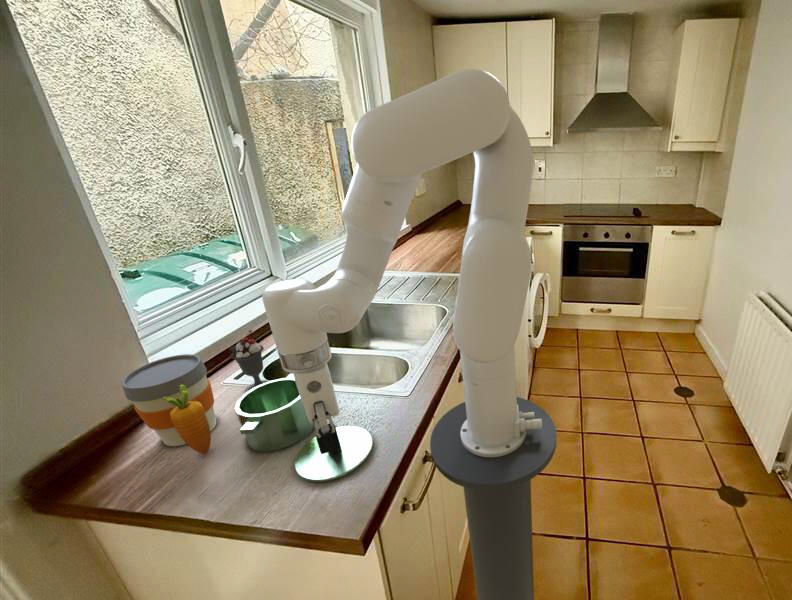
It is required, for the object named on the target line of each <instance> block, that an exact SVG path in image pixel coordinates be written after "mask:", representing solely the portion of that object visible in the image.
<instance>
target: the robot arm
mask: <svg viewBox="0 0 792 600" xmlns="http://www.w3.org/2000/svg"><path fill="white" fill-rule="evenodd" d="M519 116H520V115H518V113H517V112H516V111H515V109H514V108H513V107H512V105H511V102H510V97H509V95H508V93H507V91H506V88H505V87H504V85H503V83H502V82H501V81H500V80H499V79H498V78H497V77H496V76H495V75H493V74H492V73H490V72H488V71H485V70H483V69H479V68H466V69H462V70H458V71H454V72H453V73H451V74H449V75H446V76H444V77H441V78H439V79H437V80H434V81H433V82H430V83H428V84H425V85H424V86H421V87H419V88H417V89H415V90H413V91H410V92H408V93H406V94H403V95H401V96H399V97H397V98H395V99H393V100H390V101H388V102H385V103H383V104H381V105H378V106H376V107H373V108H372V109H370V110H368V111H366V112H365V113H364V114H363V115H361V116H360V118H359V119H358V120H357V121H356V123H355V124H354V127H353V129H352V134H351V142H350V146H351V153H352V156H353V158H354V160H355V162H356V165H355V168H354V172H353V174H352V178H351V181H350V184H349V187H348V189H347V193H346V196H345V199H344V201H343V204H342V208H341V219H342V221H343V224H344V225H345V227H346V239H345V244H344V246H343V251H342V254H341V257H340V260H339V262H338V265H337V268H336V270H335V272H334V274H333V275H332V277H330V278H329V280H328V281H326V283H324V284H322V285H320V286H319V287H316V286H315V285H314V283H312V282H311V281H309V280H307V279H302V278H301V279H300V278H299V279H298V278H297V279H295V278H294V279H286V280H281V281H278V282H275V283H272V284H270V285H268V286H267V287H266V288H265V289H264V290H263V292H262V294H261V295H262V296H261V297H262V298H261V299H262V302H263V307H264V310H265V313H266V316H267V320H268V323H269V327H270V330H271V333H272V337H273V341H274V344H275V347H276V350H277V354H278V358H279V361H280V364H281V368H282V369H283V371H284V372H287V373H289V374H293V375H294V379H295V382H296V385H297V389H298V392H299V395H300V398H301V401H302V404H303V407H304V409H305V412H306V415H307V417H308V420H309V422H310V423H314V424H315V427H314V429H315V432H316V434H315V437H316V438H317V442H318V446H319V449H320V453H321V454H325V453H328V452H331V451H333V450H336V449H339V448H340V442H339V438H338V434H337V430H336V428H337V427H336V428H335V429H334V425H333V424H334V421H333V418H332V417H337V416H339V415H340V408H339V404H338V400H337V397H336V396H337V395H336V392H335V388H334V384H333V379H332V375H331V372H330V368H329V366H328V363H329V362H330V361H331V359H332V357H333V355H332V351H331V347H330V343H329V338H328V334H344V333H347V332H349V331H352V330H353V329H354V328H356V326H357V325H358V324H359V323H360V322H361V320H362V318H363V316H364V315H365V313H366V311H367V310H368V309H369V307H370V305H371V304H372V302H373V300H374V299H375V297H376V294H377V292H378V289H379V287H380V284H381V282H382V280H383V277H384V274H385V271H386V269H387V267H388V264H389V261H390V258H391V255H392V252H393V249H394V247H395V245H396V244H397V242H398V239H399V235H400V233H401V230H402V227H403V225H404V222H405V219H406V216H407V213H408V211H409V209H410V206H411V203H412V200H413V198H414V195H415V193H416V190H417V188H418V186H419V184H420V180H421V178H422V176H423V174H424V173H427V172H430V171H432V170H434V169H437V168H439V167H442V166H444V165H447V164H449V163H451V162H453V161H456V160H458V159H461V158H463V157H465V156H468V155H470V154H473V158H474V176H473V184H472V197H471V204H470V212H469V217H468V222H467V223H468V224H467V228H466V231H465V235H464V239H463V243H462V252H461V262H460V268H459V269H460V270H459V278H458V286H457V293H456V297H455V301H454V308H453V309H454V310H453V321H452V336H453V340H454V343H455V345H456V347H457V349H458V350H459V354H460V365H461V375H462V376H461V377H462V385H463V394H464V395H463V396H464V402H465V404H466V414H467V420H466V421H465V422H464V424H463V425H462V428H461V433H460V435H461V441H462V444H463V445H464V447H465V448H466V449H467V450H468V451H469V452H471V453H473V454H475V455H478V456H482V457H500V456H504V455H507V454H509V453H511V452H513V451H514V450H516V449H517V448H518V447H519V446H521V444H522V443H523V441H524V439H525V437H526V430H528V429H533V430H540V429H542V420H541V419H535V417H534V412H528V413H522V412H519V407H518V404H517V397H518V396H517V378H516V376H517V375H516V350H515V349H516V348H515V344H516V342H517V340H518V336H519V333H520V329H521V325H522V321H523V316H524V311H525V306H526V301H527V296H528V291H529V286H530V280H531V274H532V260H533V259H532V252H531V251H532V250H531V248H530V245H529V242H528V240H527V238H526V222H527V215H528V211H529V205H530V197H531V190H532V184H533V183H532V182H533V175H534V174H533V172H534V157H533V149H532V145H531V144H532V143H531V141H530V138H529V135H528V132H527V130H526V127H525V125H524V124H523V122H522V120H521V117H519ZM525 419H528V420H525ZM530 419H532V420H530ZM329 423H330V425H328V424H329Z"/></svg>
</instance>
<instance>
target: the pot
mask: <svg viewBox="0 0 792 600" xmlns="http://www.w3.org/2000/svg"><path fill="white" fill-rule="evenodd" d="M233 409H234V412H235V414H236V417H237V420H238V422H239V424H240V427H241V428H239V432H240V434H241V435H244V438H245V439H246V442H247V443H248V445H249V447H250V448H251V449H253V450H254V451H256V452H263V453H264V452H265V453H268V452H275V451H280V450H284V449H285V448H289V447H291V446H293V445H295V444H297V443H298V442H300V441H302V440H304V438H306V437H307V436H308V435H309V434H310V433H311V432H312V431H314V429H315V424H314V423H310V422H309V420H308V417H307V415H306V412H305V409H304V407H303V404H302V401H301V398H300V395H299V392H298V389H297V385H296V382H295V379H294V375H293V373H289V374H288V375H287V376H286V377H282V378H278V379H272V380H269V382H266V383H264V384H261V385H259V386H256V387H254V388H253V389H251V390H249V391H248V390H247V391H245V392H244V394H242V395H241V397H239V398H238V399H237V401H236V402H235V404H234V408H233Z"/></svg>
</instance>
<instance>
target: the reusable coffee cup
mask: <svg viewBox="0 0 792 600" xmlns="http://www.w3.org/2000/svg"><path fill="white" fill-rule="evenodd" d="M207 373H208V369H207V367H206V366H205V363H204V362H203V360H202V359H201V357H200V356H199V355H197V354H191V353H185V354H177V355H171V356H167V357H163V358H159V359H156V360H154V361H151V362H148V363H145V364H143V365H141V366H139V367H137V368H135V369H133V370H132V371H131V372H129V373H128V374H127V375H125V376H123V379H121V386H122V389H123V392H124V395H125V398H126V399H127V400H128V401H130V402H132V404H133V405H134V411H135V412H136V413H137V415H138V416H139V417H140V419H141V420H142V421H143V422H144V424H145V425H146V426H147V427H148V428H149V429H151V430H153V431H154V432H155V433H156V435H157V436H158V437H159V438H160V439H161V441H162V442H163V443H164V445H166V446H168V447H179V446H183V445H187V444H186V443H185V442H184V440H183V439H182V438H181V437H180V435H179V433H178V432H177V430H176V428H175V426H174V424H173V422H172V420H171V415H170V412H171V411H172V410H173V409H174V408H175V407H177V406H175V405H174V404H172V403H169V402H167V400H164V399H163V398H164V397H170V398H173V399H175V400H176V398H179V399H180V400H181V392H180V388H179V386H180V385H185V386H186V389H187V392H188V401H198V402H200V403H201V404H202V407H203V409H204V412H205V415H206V418H207V420H208V424H209V428H210V432H211V431H212V430H214V428H215V427H216V426H217V418H216V413H215V409H214V403H215V398H214V393H213V389H212V385H211V381H210V379H209V378H208V377H207ZM176 401H177V400H176Z"/></svg>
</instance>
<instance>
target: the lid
mask: <svg viewBox="0 0 792 600" xmlns="http://www.w3.org/2000/svg"><path fill="white" fill-rule="evenodd" d="M328 425H330V423H329V422H328ZM333 425H334V429H335V428H336V430H337V434H338V438H339V442H340V448H339V449H336V450H333V451H331V452H328V453H325V454H321V453H320V449H319V446H318V442H317V438H316V436H314V437H313V438H311V439H310V440H308V441H307V442H305V444H304V445H303V446H302V447H301V449H300V450H299V451H298V452H297V455H296V457H295V459H294V469H295V472H296V474H297V475H298V477H300V478H302V479H303V480H306V481H309V482H317V483H318V482H319V483H320V482H327V481H332V480H335V479H338V478H342V477H343V476H346V475H347V474H350V473H352V472H353V471H354V470H356V469H357V468H358V467H360V466H361V465H362V464H363V463H364V462H365V461H366V460H367V458H369V456H370V454H371V452H372V450H373V445H374V442H373V441H374V440H373V437H372V435H371V433H370V432H369V431H368V430H367V429H366V428H363V427H361V426H357V425H356V426H355V425H343V426H336V424H335V423H333Z"/></svg>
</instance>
